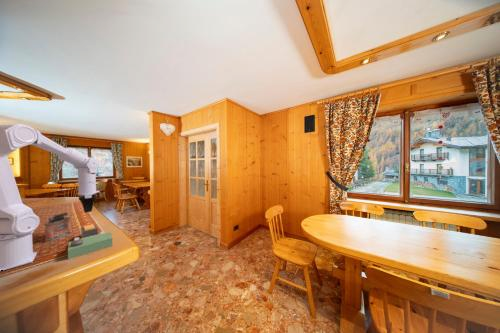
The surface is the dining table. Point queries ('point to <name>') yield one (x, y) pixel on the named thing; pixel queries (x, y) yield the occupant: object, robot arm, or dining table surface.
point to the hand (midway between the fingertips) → (88, 211)
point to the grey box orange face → (89, 231)
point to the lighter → (57, 227)
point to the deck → (89, 244)
